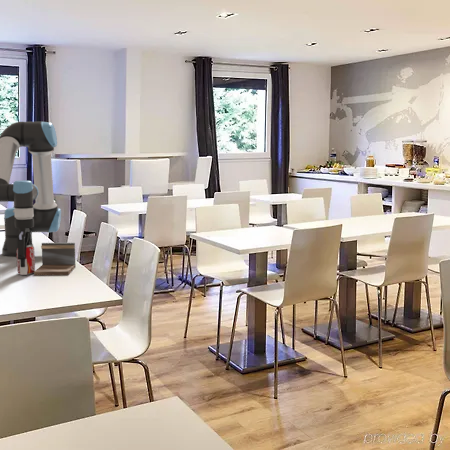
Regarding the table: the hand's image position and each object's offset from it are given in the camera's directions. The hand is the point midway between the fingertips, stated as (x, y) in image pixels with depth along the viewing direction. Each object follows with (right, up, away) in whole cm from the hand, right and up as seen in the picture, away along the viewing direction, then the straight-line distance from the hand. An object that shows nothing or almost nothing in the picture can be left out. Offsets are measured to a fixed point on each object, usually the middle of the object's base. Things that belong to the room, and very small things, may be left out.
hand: (26, 272), depth 255 cm
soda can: (0, -1, 0) cm, 1 cm away
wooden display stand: (+11, 0, +6) cm, 12 cm away
